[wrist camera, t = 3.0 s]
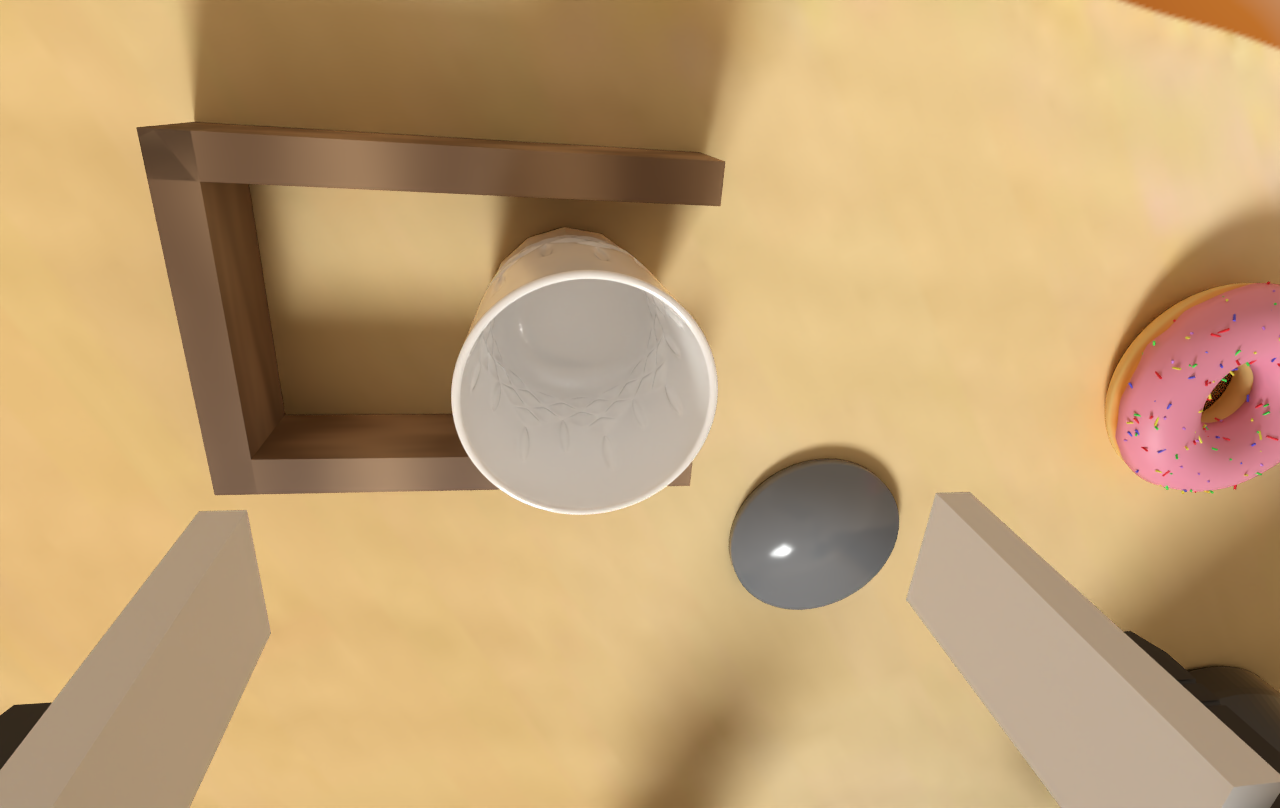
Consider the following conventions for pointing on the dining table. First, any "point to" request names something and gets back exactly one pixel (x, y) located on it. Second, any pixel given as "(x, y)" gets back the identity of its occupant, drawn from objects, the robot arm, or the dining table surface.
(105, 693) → the robot arm
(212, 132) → the brown wooden tray
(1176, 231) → the dining table surface
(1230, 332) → the doughnut
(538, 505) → the white cup
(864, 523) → the coaster
